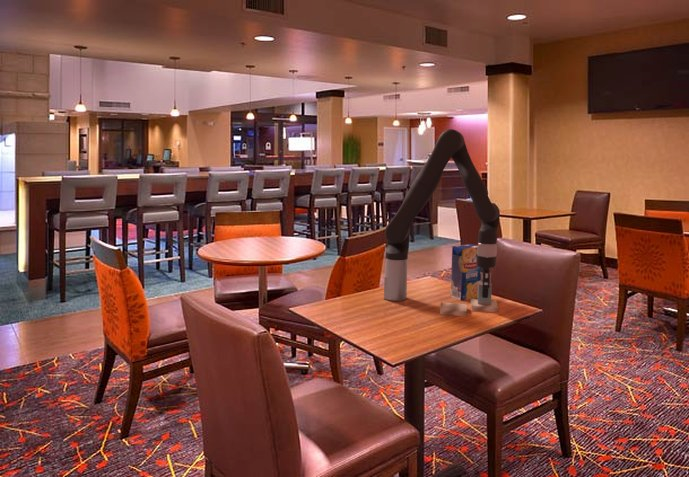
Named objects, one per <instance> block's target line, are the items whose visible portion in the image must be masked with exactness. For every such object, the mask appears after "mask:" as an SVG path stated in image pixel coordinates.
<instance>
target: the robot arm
mask: <svg viewBox="0 0 689 477" xmlns="http://www.w3.org/2000/svg"><path fill="white" fill-rule="evenodd" d="M465 141H466V140H465V137H464V136H463V134H462V133H461V132H459V131H458V130H455V129H453V128H451V129H446V130H444V131H443V132H441V134H440V135H439V137H438V138H437V141H436V143H435V145H434V148H433V150H432V152H431V153H430V155H429V157H428V159H427V160H426V162H425V163H424V165H423V166H422V168H421V169H420V171H419V172H418V174H417V175H416V177H415V179H414V180H413V182H412V183H411V185H410V187H409V189H408V191H407V193H406V195H405V197H404V199H403V202H402V203H401V204H400V207H399V209H398V210H397V212H396V213H395V215H394V216H393V218H392V219H391V220H390V221H389V222H388V224H386V226H385V230H384V237H385V238H386V240H387V242H386V250H385V265H384V266H385V267H384V276H383V278H384V279H383V280H384V281H383V300H388V301H394V302H401V301H404V300H407V295H408V294H407V293H408V292H407V288H408V257H409V250H410V228H411V227H412V224H413V222H414V220H415V219H416V218H417V216H418V214H420V212H421V211H422V210H423V209H424V207H425V206H426V205H427V203H428V202H429V201H430V199H431V198H432V196H433V195H434V193H435V191H436V190H437V188H438V186H439V184H440V182H441V178H442V175H443V173H444V170H445V168H446V166H447V165H448V163H449V161H450V160H452V161H453V162H454V164H455V166H456V168H457V170H458V173H459V175H460V179H461V180H462V183H463V185H464V188H465V189H466V192H467V193H468V196H469V198H470V199H471V201H472V204H473V207H474V211H475V213H476V215H477V217H478V219H479V220H480V221H481V225H480V228H479V231H478V239H477V246H478V247H477V262H476V265H477V266H479V267H481V268H482V270H480V274H481V282H482V288H483V289H482V297H483V298H488V289H489V287H490V286H489V284H490V282H491V276H492V271H491V268H496V266H497V254H498V248H497V247H498V246H497V242H498V228H499V223H500V217H501V216H500V215H501V213H500V208H499V207H498V205H497V204H496V203H492V202H491V199H490V197H489V191H488V189H487V187H486V185H485V182H484V181H483V179H482V177H481V175H480V174H479V172H478V170H477V168H476V167H475V165H474V163H473V161H472V158H471V156H470V154H469V152H468V149H467V145H466V142H465ZM484 283H488V285H484Z"/></svg>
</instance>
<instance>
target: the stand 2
mask: <svg viewBox="0 0 689 477" xmlns="http://www.w3.org/2000/svg"><path fill="white" fill-rule="evenodd" d="M477 299H478V298H473V299H470V310H471V312H489V313H499V306H498V302H497V300H495V299H494V300H493V299H491V305H483V304H478V301H477Z"/></svg>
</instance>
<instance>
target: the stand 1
mask: <svg viewBox="0 0 689 477" xmlns="http://www.w3.org/2000/svg"><path fill="white" fill-rule="evenodd" d="M439 307H440V308H439V315H443V316H444V315H445V316H457V317H459V316H460V317H467V315H468V307H467V303H459V302H458V303H456V302H455V303H454V302H443V301H441V302H440V306H439Z"/></svg>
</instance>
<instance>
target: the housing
mask: <svg viewBox="0 0 689 477" xmlns="http://www.w3.org/2000/svg"><path fill="white" fill-rule="evenodd" d="M484 285H488V283H484ZM489 286H490V287H489V289H488V298H483V297H482V289H483V288H482V282H478V298H476V299H477V301H478V304H483V305H491V300H492V295H493V294H492V292H493V291H492V290H493V284H492V282H491V281H490V284H489Z"/></svg>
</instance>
